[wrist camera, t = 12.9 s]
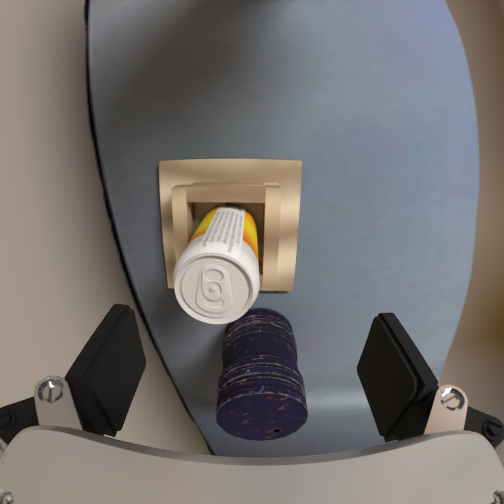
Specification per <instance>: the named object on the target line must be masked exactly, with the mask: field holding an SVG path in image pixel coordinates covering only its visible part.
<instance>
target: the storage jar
mask: <svg viewBox="0 0 504 504" xmlns="http://www.w3.org/2000/svg"><path fill="white" fill-rule="evenodd" d="M222 360H223V372H222V374H221V376H220V378H219V382H218V390H217V409H216V422H217V424H218V426H219V427H220V428H221V429H222V430H223V431H225V432H226V433H228V434H230V435H232V436H234V437H237V438H240V439H244V440H251V441H268V440H275V439H280V438H283V437H286V436H288V435H291V434H293V433H295V432H296V431H298V430H299V429H300V428H301V427H302V426H304V424H305V423H306V421H307V419H308V410H307V405H306V394H305V388H304V385H303V378H302V376H301V374H300V371H299V370H298V367H297V351H296V342H295V338H294V335H293V331H292V327H291V324H290V322H289V321H288V319H287V318H286V317H285V316H283V315H282V314H281V313H279V312H277V311H275V310H272V309H267V308H252V309H248V311H247V312H246V313H245V314H244V315H243V316H242V317H240V318H239V319H237V320H235V321H232V322H230V323H228V326H227V328H226V334H225V338H224V342H223V352H222Z"/></svg>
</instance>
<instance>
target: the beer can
mask: <svg viewBox="0 0 504 504" xmlns="http://www.w3.org/2000/svg"><path fill="white" fill-rule="evenodd" d="M173 286H174V289H175V295H176V298H177V300H178V302H179V304H180V306H181V307H182V308H183V310H184V311H185V312H186V313H188V314H189V315H190V316H191V317H193V318H195V319H196V320H199V321H201V322H204V323H208V324H226V323H230V322H232V321H235V320H237V319H239V318H240V317H242V316H243V315H244V314H245V313H246V312H247V311H248V309H249V308H250V307H251V306H252V305H253V303H254V302H255V300H256V298H257V296H258V293H259V287H260V279H259V262H258V245H257V228H256V222H255V219H254V217H253V215H252V214H251V212H250V211H249V210H248V209H246V208H245V207H244V206H242V205H240V204H237V203H231V202H227V203H221V204H218V205H216V206H215V207H213V208H212V209H211V210H210V211H209V212H208V213H207V214H206V216H205V217H204V219H203V221H202V222H201V224H200V225H199V227H198V228H197V230H196V232H195V233H194V235H193V236H192V238H191V240H190V241H189V243H188V244H187V246H186V248H185V249H184V251H183V253H182V254H181V256H180V257H179V259H178V261H177V263H176V265H175V267H174V271H173Z"/></svg>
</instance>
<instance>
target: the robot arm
mask: <svg viewBox="0 0 504 504" xmlns="http://www.w3.org/2000/svg"><path fill="white" fill-rule="evenodd" d="M145 366H146V359H145V355H144V351H143V347H142V343H141V339H140V335H139V331H138V327H137V322H136V318H135V313H134V310H133V309H130V307H129V306H128V305H122V304H114V305H113V306H112V308H111V309H110V311H109V312H108V313H107V315H106V316H105V317H104V319H103V320H102V322H101V323H100V324H99V326H98V327H97V329H96V330H95V332H94V333H93V335H92V336H91V337H90V339H89V340H88V342H87V343H86V345H85V346H84V348H83V349H82V351H81V352H80V354H79V355H78V357H77V358H76V360H75V362H74V363H73V365H72V366H71V368H70V369H69V371H68V372H67V375H66V376H65V378H62V377H60V376H48V377H46V378H44V379H42V380H41V381H39V383H38V384H37V385H36V387H35V390H34V397H31V398H28V399H25V400H22V401H19V402H16V403H13V404H10V405H7V406H4V407H1V408H0V504H504V425H503V423H502V422H501V421H500V420H499V419H497V418H496V417H493V416H491V415H488V414H485V413H483V412H480V411H478V410H475V409H473V408H471V407H468V399H467V397H466V395H465V393H464V392H463V391H462V390H461V389H459V388H458V387H456V386H453V385H444V386H442V387H440V388H439V387H438V385H437V384H438V381H437V379H436V377H435V376H434V374H433V372H432V371H431V369H430V367H429V366H428V364H427V363H426V361H425V359H424V358H423V356H422V355H421V353H420V352H419V350H418V349H417V347H416V345H415V344H414V342H413V341H412V339H411V338H410V336H409V335H408V333H407V332H406V330H405V329H404V328H403V326H402V325H401V323H400V322H399V320H398V319H397V317H396V316H395V315H394V313H380V314H378V316H377V317H375V318H374V319H373V322H372V325H371V329H370V332H369V335H368V338H367V340H366V343H365V346H364V349H363V352H362V355H361V357H360V360H359V363H358V366H357V373H358V376H359V378H360V381H361V384H362V386H363V389H364V392H365V394H366V397H367V400H368V403H369V405H370V408H371V411H372V414H373V417H374V420H375V422H376V425H377V428H378V431H379V434H380V435H381V436H384V439H385V442H389V441H393V440H397V439H398V441H396V442H392V443H388V444H383V445H378V446H373V447H368V448H363V449H357V450H351V451H345V452H338V453H330V454H322V455H311V456H298V457H277V458H245V457H224V456H211V455H200V454H191V453H184V452H176V451H170V450H164V449H158V448H153V447H148V446H143V445H139V444H134V443H129V442H125V441H120V440H116V439H113V438H109V437H105V436H103V435H104V434H106V435H109V436H113V437H115V436H116V433H117V431H120V430H121V429H122V427H123V424H124V421H125V418H126V416H127V413H128V410H129V408H130V405H131V402H132V400H133V397H134V395H135V392H136V389H137V387H138V384H139V381H140V379H141V377H142V374H143V372H144V369H145Z"/></svg>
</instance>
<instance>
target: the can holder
mask: <svg viewBox="0 0 504 504" xmlns="http://www.w3.org/2000/svg"><path fill="white" fill-rule="evenodd" d="M301 171H302V161H296V160H276V159H186V160H166V161H159V183H160V203H161V219H162V232H163V244H164V254H165V264H166V273H167V281H168V288H174V286H173V271H174V267H175V265H176V263H177V261H178V259H179V257H180V256H181V254H182V253H183V251H184V249H185V248H186V246H187V244H188V243H189V241H190V240H191V238H192V236H193V235H194V233H195V232H196V230H197V228H198V227H199V225H200V224H201V222H202V221H203V219H204V217H205V216H206V214H207V213H208V212H209V211H210V210H211V209H212V208H213V207H215V206H216V205H218V204H221V203H227V202H231V203H237V204H240V205H242V206H244V207H245V208H246V209H248V210H249V211H250V212H251V214H252V215H253V217H254V219H255V222H256V228H257V245H258V262H259V279H260V287H259V291H293V284H294V274H295V262H296V250H297V237H298V223H299V208H300V191H301Z"/></svg>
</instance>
